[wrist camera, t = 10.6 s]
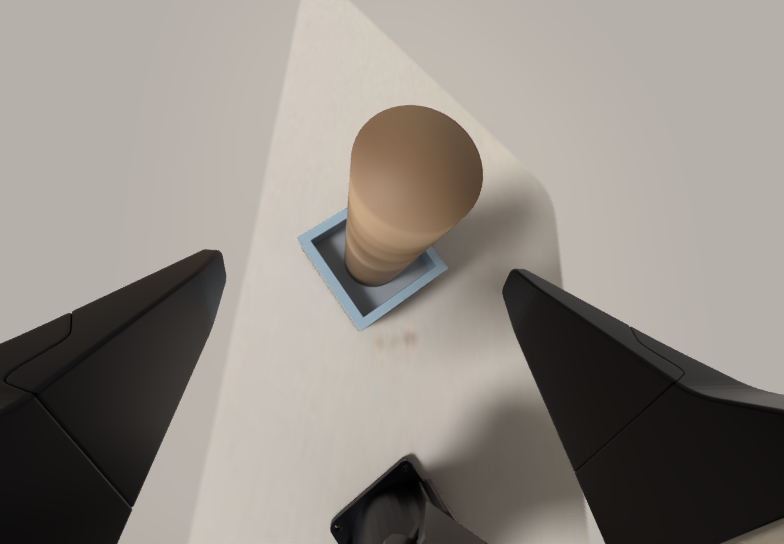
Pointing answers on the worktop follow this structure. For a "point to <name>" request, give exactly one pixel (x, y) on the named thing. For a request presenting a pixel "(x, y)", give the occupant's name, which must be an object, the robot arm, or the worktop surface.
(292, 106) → the worktop surface
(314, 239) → the light blue open box
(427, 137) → the pillar
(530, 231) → the worktop surface
